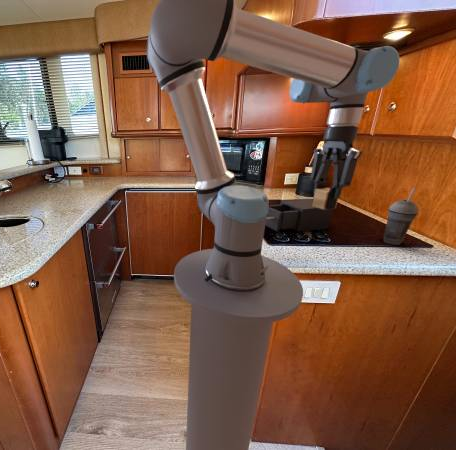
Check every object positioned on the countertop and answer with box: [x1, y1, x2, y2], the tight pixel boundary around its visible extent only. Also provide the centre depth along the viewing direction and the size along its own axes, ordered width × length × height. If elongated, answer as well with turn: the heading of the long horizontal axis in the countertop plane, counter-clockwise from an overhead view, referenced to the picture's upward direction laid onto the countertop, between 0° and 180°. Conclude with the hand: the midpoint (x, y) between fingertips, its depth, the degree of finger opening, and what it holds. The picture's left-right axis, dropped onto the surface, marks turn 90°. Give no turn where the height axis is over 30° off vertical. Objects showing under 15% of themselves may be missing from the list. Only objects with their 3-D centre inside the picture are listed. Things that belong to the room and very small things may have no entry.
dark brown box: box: [279, 198, 334, 233], centre depth 102 cm, size 15×13×10 cm
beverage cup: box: [382, 187, 419, 246], centre depth 82 cm, size 7×7×20 cm
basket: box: [265, 204, 301, 232], centre depth 99 cm, size 19×11×8 cm, turn 102°
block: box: [312, 187, 339, 210], centre depth 74 cm, size 4×4×6 cm
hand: (323, 206), depth 74 cm, fingers closed on block, 4 cm apart
